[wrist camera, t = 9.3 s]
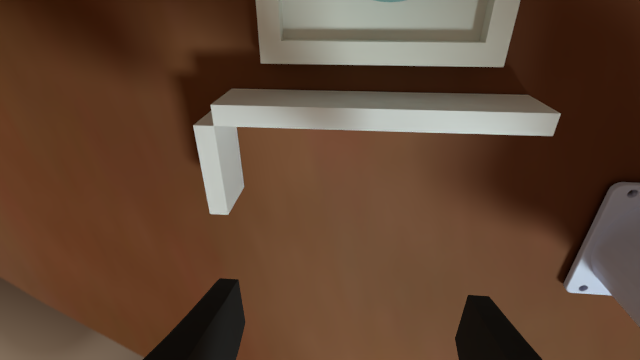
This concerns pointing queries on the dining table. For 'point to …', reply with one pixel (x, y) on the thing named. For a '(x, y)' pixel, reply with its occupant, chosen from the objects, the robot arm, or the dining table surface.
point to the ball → (389, 0)
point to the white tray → (386, 32)
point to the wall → (351, 122)
